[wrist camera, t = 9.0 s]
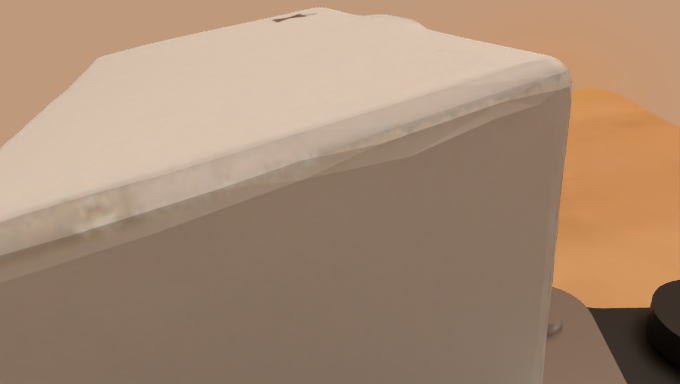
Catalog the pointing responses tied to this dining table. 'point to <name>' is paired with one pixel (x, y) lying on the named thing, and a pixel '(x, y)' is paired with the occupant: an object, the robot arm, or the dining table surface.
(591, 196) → the dining table surface
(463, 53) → the skincare box
